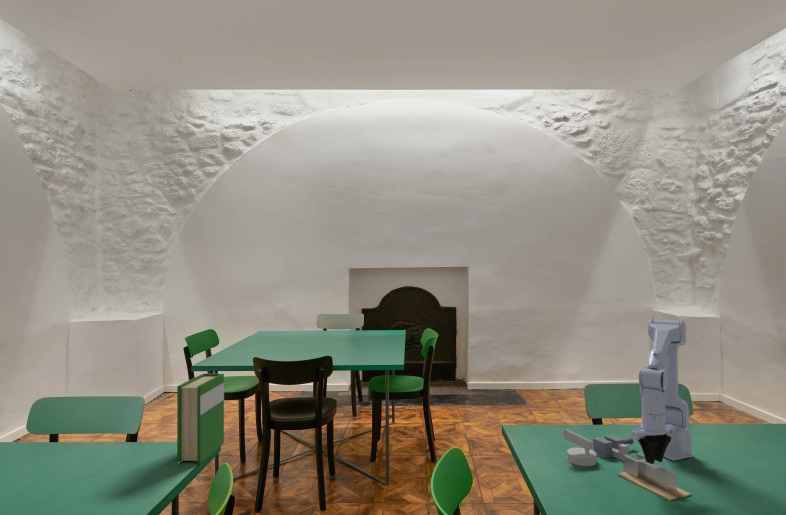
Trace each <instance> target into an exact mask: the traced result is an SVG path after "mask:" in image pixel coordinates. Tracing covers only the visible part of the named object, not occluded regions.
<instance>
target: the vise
mask: <svg viewBox="0 0 786 515" xmlns="http://www.w3.org/2000/svg"><path fill="white" fill-rule="evenodd" d="M592 443H593V448H592V449H590V450H592V451H594V452H595V453H596V454H597V456H598V458H599V457H600V459H601V458H602V459H610V458H615V459H617V460H619V461H622V462H623V455H628V456H630V455H629V445H633V444H634V443H635V442H634V439H633V438H631V437H628V438H627V439H623V438H620V437H618V436H615V435H613V434H609V435H605V436H604V437H601V436H599V437H593V438H592ZM627 444H629V445H627Z"/></svg>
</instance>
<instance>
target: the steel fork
mask: <svg viewBox="0 0 786 515" xmlns="http://www.w3.org/2000/svg"><path fill="white" fill-rule="evenodd" d="M622 463H623V472H627V473H629V474H631V475H633V476H634V477H636V478H644V479H645V480H647V481H649V482H651V483H653V484H655V485H656V486H658V487H660V488H662V489H664V490H666V491H668V492H669V491H675V490H677V487H678V484H677V483H678V482H677V481H678V480H677V478H678V477H677V475H678V474H677V472H675V471H672V470H670V469H669V468H666V467H665V466H662V465H660V464H658V463H657V462H656V460H655V461H654V464H650V463H648V462H646V460H645V456H644V453H641V452H637V453H636V458H634V457H632V456H631V455H629V456H628V455H623V461H622Z"/></svg>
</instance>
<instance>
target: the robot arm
mask: <svg viewBox="0 0 786 515" xmlns="http://www.w3.org/2000/svg"><path fill="white" fill-rule="evenodd" d="M647 325H648V326H647V334H648V336H649V337H650V339H651V340H652V342H653V345H652V350H650V351H648V353H647V355H646V357H645V358H646V359H645V363H644V366H643V368H642V369H639V372H638V384H639V393H640V396H641V424H639V427H638V428H636V429H633V430H631V433H630V435H631V437H630V438H632V439H633V440H637V442H638V443H639V445H640V448H641V450H642V454H643V455H644V456H645V460H646V462H648V463H650V464H654V461H655V462H656V461H657V462H659V463H663V461H664V458H666V459H667V460H670V461H674V462H675V461H679V460H683V459H688V458H693V457H695V454H693V453H692V434H691V431H690V429H689V426H690V411H689V405H688V403H687V402H686V401H685V400H683V399H682V398H681V397H680V396H679V369H678V368H679V362H678V361H679V360H678V359H679V358H678V356H679V355H678V352H679V348H680V347H681V346H684V345H686V342H687V336H686V335H687V327H686V322H685V321H684V320H682V319H681V320H676V319H675V320H673V319H672V320H671V319H655V318H650V319H649V321H648V324H647Z"/></svg>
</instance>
